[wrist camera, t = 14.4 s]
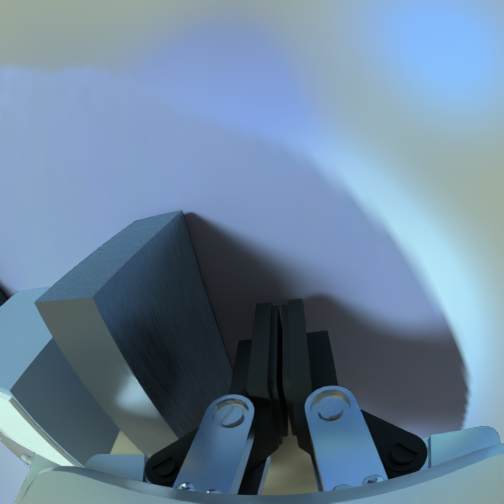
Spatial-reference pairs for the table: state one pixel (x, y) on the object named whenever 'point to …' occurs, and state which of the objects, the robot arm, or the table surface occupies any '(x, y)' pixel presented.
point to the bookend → (142, 331)
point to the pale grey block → (46, 391)
